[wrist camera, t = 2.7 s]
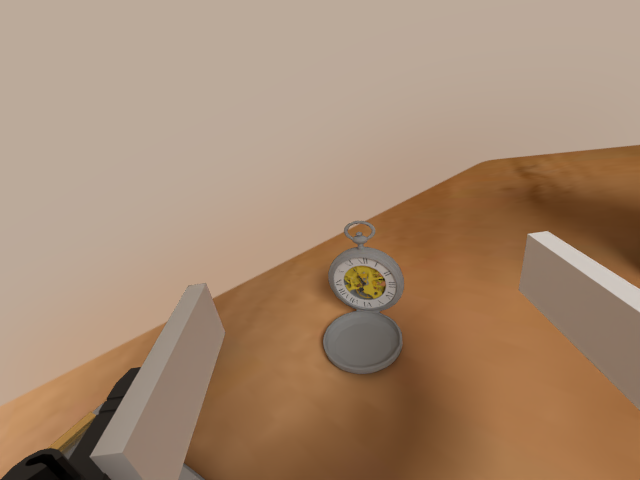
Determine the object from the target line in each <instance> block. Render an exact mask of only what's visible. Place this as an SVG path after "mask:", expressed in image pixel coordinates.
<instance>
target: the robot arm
mask: <svg viewBox="0 0 640 480" xmlns="http://www.w3.org/2000/svg"><path fill="white" fill-rule="evenodd" d="M519 291H520V292H521V293H522V294H523V295H524V296H525V297H526V298H527V299H528V300H529V301H530V302H531V303H532V304H533V305H534V306H535V307H536V308H537V309H538V310H539V311H540V312H541V313H542V314H543V315H544V316H545V317H546V318H547V319H548V320H549V321H550V322H551V323H552V324H553V325H554V326H555V327H556V328H557V329H558V330H559V331H560V332H561V333H562V334H563V335H564V336H565V337H566V338H567V339H568V340H569V341H570V342H571V343H572V344H573V345H574V346H575V347H576V348H577V349H579V350H580V351H581V352H582V353H583V354H584V355H585V356H586V357H587V358H588V359H589V360H590V361H591V362H592V363H593V364H594V365H595V366H596V367H597V368H598V369H599V370H600V371H601V372H602V373H603V374H604V375H605V376H606V377H607V378H608V379H609V380H610V381H611V382H612V383H613V384H614V385H615V386H616V387H617V388H618V389H619V390H620V391H621V392H622V393H623V394H624V395H625V396H626V397H627V398H628V399H629V400H630V401H631V402H632V403H633V404H634V405H635V406H636V407H637V408H638V409H639V410H640V289H638V288H637V287H635V286H634V285H632V284H631V283H629V282H627V281H626V280H624V279H623V278H621V277H619V276H618V275H616V274H615V273H613V272H611V271H610V270H608V269H607V268H605V267H604V266H602V265H600V264H599V263H597V262H596V261H594V260H592V259H591V258H589V257H588V256H586V255H584V254H583V253H581V252H580V251H578V250H577V249H575V248H573V247H572V246H570V245H569V244H567V243H565V242H564V241H562V240H561V239H559V238H558V237H556V236H554V235H553V234H551V233H550V232H548V231H544V232H538V233H531V234H528V236H527V242H526V248H525V254H524V260H523V266H522V272H521V278H520V284H519ZM224 336H225V330H224V328H223V325H222V323H221V320H220V317H219V315H218V312H217V310H216V307H215V305H214V302H213V299H212V297H211V294H210V292H209V289H208V287H207V284H206V283H203V284H197V285H190V286H188V287H187V289H186V290H185V292H184V294H183V296H182V298H181V299H180V301H179V303H178V304H177V306H176V308H175V309H174V311H173V313H172V315H171V317H170V318H169V320H168V322H167V323H166V325H165V327H164V329H163V330H162V332H161V334H160V335H159V337H158V339H157V341H156V342H155V344H154V346H153V348H152V349H151V351H150V353H149V355H148V356H147V358H146V360H145V362H144V363H143V365H142V367H138V368H131V369H130V370H129V371H128V372H127V373H126V374H125V375H124V376H123V377H122V378H121V379H120V380H119V381H118V382H117V383H116V384H115V386H114V388H113V389H112V391H111V392H110V394H109V396H108V397H107V401H105V402H104V404H103V405H102V407H101V408H100V410H99V414H98V415H96V416H95V418H94V419H93V421H92V423H91V424H90V426H89V427H88V429H87V431H86V432H85V434H84V435H83V437H82V439H81V440H80V442H79V443H78V445H77V447H76V448H75V450H74V451H73V453H72V455H71V456H70V458H69V459H67V458H66V457H65V456H64V455H63V454H62V453H61V452H60V450H58V449H54V448H48V449H44V450H40V451H37V452H36V453H34V454H32V455H30V456H28V457H26V458H24V459H23V460H22V461H21V462H19V463H18V464H17V465H15V466H14V467H13V468H11V469H10V470H9V471H8V472H7V473H6V475H5V476H4V477H3V478H2V479H1V480H178V479H179V476H180V473H181V470H182V466H183V463H184V460H185V457H186V454H187V451H188V448H189V445H190V442H191V438H192V435H193V432H194V429H195V426H196V423H197V420H198V417H199V414H200V410H201V407H202V404H203V401H204V398H205V395H206V392H207V389H208V386H209V382H210V379H211V376H212V373H213V370H214V367H215V364H216V361H217V358H218V354H219V351H220V348H221V345H222V342H223V339H224Z"/></svg>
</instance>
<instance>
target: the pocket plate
mask: <svg viewBox="0 0 640 480" xmlns="http://www.w3.org/2000/svg"><path fill="white" fill-rule="evenodd" d="M102 405H103V404H101V405H100V406H99V407H98V408H97V409H96V410H94V411H93V412H90V413H88V414H87V415H86V416H85V417H84V418H82V419H81V420H80V421H79V422H78V423H77V424H75V425H74V426H73V427H72V428H71V429H70V430H68V431H67V432H66V433H65V434H64V435H62V436H61V437H60V438H59V439H58V440H57V441H55V442H54V443H53V444H52V445H51V446H49V447H48V448H54V449H58V450H60V452H61V453H62V454H63V455H64V456H65V457H66V458H67V459H69V458H70V456H71V455H72V453H73V451H74V450H75V448H76V447H77V445H78V443H79V442H80V440H81V439H82V437H83V435H84V434H85V432H86V431H87V429H88V427H89V426H90V424H91V423H92V421H93V419H94V418H95V416H96V415H98V414H99V410H100V408H101V407H102ZM48 448H47V449H48ZM178 480H205V479H204V478H202V477H201V476H200V475H199V474H197V473H196V472H195V471H193V470H192V469H191V468H190V467H188V466H187V465H186V464H184V463H183V466H182V470H181V473H180V476H179V479H178Z"/></svg>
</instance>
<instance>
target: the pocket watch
mask: <svg viewBox="0 0 640 480" xmlns="http://www.w3.org/2000/svg"><path fill="white" fill-rule="evenodd" d="M357 223H361V224H366V225H368V226H369V227H370V228H371V230H372V233H371V234H370V236H368V237H365V236H362V233H361V232H357V233H356V235H357V236H355V237H354V238H353V237H352V236H350V235H349V234H348V232H347V230H348V228H349V227H350V226H351V225H353V224H357ZM344 233H345V235H346V236H347V237H348V238H350V239H351V240H353V242H354V243H356V244H358V247H355V248H351V249H348V250H346V251H344V252H342V253H341V254H340V255H338V256H337V257H336V258H335V260H334V261H333V262H332V264H331V266H330V269H329V272H328V276H329V284H330V287H331V289H332V290H333V292H334V294H335V295H336V297H338V298H339V299H340V300H341V301H342V302H344V303H345V304H346V305H348V306H350V307H352V308H355V309H357V311H354V312H351V313H347V314H344V315H342V316H340V317H339V318H337V319H336V320H334V321H333V322H332V324H331V325H330V326H329V327H328V328H327V330H326V332H325V334H324V339H323V345H324V350H325V352H326V354H327V356H328V358H329V360H330V361H331V362H332V363H333V364H334V365H335V366H337V367H338V368H340V369H342V370H345V371H347V372H351V373H356V374H367V373H374V372H377V371H379V370H381V369H384V368H386V367H388V366H389V365H390V364H391V363H393V362H394V361H395V360H396V358H397V357H398V356H399V354H400V352H401V349H402V345H403V344H402V333H401V330H400V328H399V327H398V325H397V324H396V322H395V321H393V320H392V319H391V318H390V317H388V316H386V315H383V314H381V313H380V311H382V310H385V309H388V308H390V307H391V306H393V305H394V304H396V303H397V302H398V300H399V299H400V298H401V295H402V293H403V290H404V278H403V275H402V272H401V269H400V267H399V266H398V264H397V263H396V262H395V261H394V259H393V258H391V257H390V256H388V255H387V254H386V253H384V252H382V251H380V250H377V249H374V248H369V247H364V246H363V244H364V243H366V242H367V240H368V239H370V238H372V237H373V236H374V234H375V228H374V227H373V225H371V224H370V223H368V222H364V221H355V222H352V223H349V224H348V225H347V226H346V227H345V229H344ZM375 272H376V273H375ZM377 273H381V274H382V276H383V277H381V276H380V275H378V274H377ZM375 274H376V275H377V276H379V277H378V278H377V276H376V275H375ZM382 278H383V279H382ZM348 280H349V281H350V282H349V281H348ZM381 281H385V282H386V285H385V287H383V286H380V285H376V284H377V282H380V283H379V284H381V283H382V282H381ZM361 283H362V284H363V285H362V286H361V287H357V285H358V284H360V285H361ZM354 284H355V285H354ZM355 286H356V287H355ZM373 287H377V289H374V288H373ZM378 287H379V288H380V289H379V291H378ZM357 289H360V291H359V290H357ZM363 290H364V291H363ZM361 291H363V292H361Z"/></svg>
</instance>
